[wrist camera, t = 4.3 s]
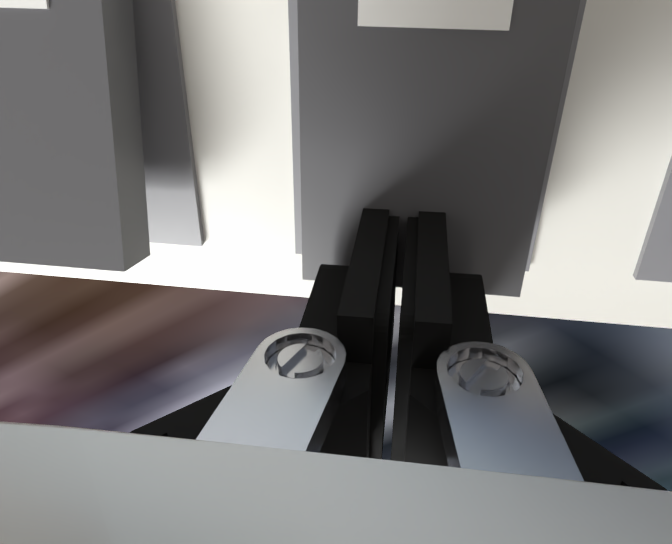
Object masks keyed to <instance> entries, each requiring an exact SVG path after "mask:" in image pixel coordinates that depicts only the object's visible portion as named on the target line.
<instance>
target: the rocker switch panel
mask: <svg viewBox="0 0 672 544" xmlns="http://www.w3.org/2000/svg"><path fill="white" fill-rule="evenodd" d="M133 14H134V28H135V42H136V56H137V71H138V85H139V99H140V114H141V128H142V142H143V157H144V171H145V185H146V200H147V214H148V228H149V243H150V256H148V257H147V258H145V259H144V260H142V261H141V262H139V263H138V264H136V265H134V266H133V267H131V268H130V269H128V270H127V271H125V272H120V271H108V270H96V269H84V268H72V267H60V266H48V265H36V264H24V263H12V262H0V271H3V272H15V273H27V274H38V275H50V276H62V277H74V278H85V279H97V280H109V281H120V282H132V283H144V284H156V285H167V286H179V287H191V288H203V289H214V290H226V291H238V292H249V293H261V294H273V295H285V296H296V297H308V298H309V297H310V294H311V291H312V288H313V285H314V282H315V280H303V278H302V224H301V171H300V118H299V64H298V11H297V0H133ZM485 296H486V303H487V309H488V313H496V314H507V315H519V316H531V317H543V318H554V319H566V320H578V321H589V322H601V323H613V324H625V325H636V326H648V327H660V328H672V0H580V5H579V10H578V15H577V20H576V25H575V30H574V35H573V40H572V44H571V49H570V54H569V59H568V64H567V69H566V74H565V79H564V84H563V88H562V93H561V98H560V103H559V108H558V113H557V118H556V123H555V128H554V132H553V137H552V142H551V147H550V152H549V157H548V162H547V167H546V172H545V176H544V181H543V186H542V191H541V196H540V201H539V206H538V211H537V216H536V220H535V225H534V230H533V235H532V240H531V245H530V250H529V255H528V260H527V265H526V269H525V274H524V279H523V284H522V289H521V294H520V297H511V296H498V295H486V294H485ZM401 300H402V288H401V287H396V292H395V305H401Z"/></svg>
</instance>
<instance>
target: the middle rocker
mask: <svg viewBox="0 0 672 544" xmlns="http://www.w3.org/2000/svg"><path fill="white" fill-rule="evenodd" d="M579 5H580V0H297V11H298V64H299V118H300V171H301V224H302V278H303V280H315V279H316V276H317V273H318V270H319V267H320V265H321V264H330V265H345V266H349V264H350V260H351V256H352V252H353V248H354V244H355V239H356V235H357V231H358V227H359V223H360V219H361V215H362V211H363V208H369V209H388V210H389V216H400V218H399V235H398V253H397V270H396V287H401V288H402V286H403V273H404V260H405V247H406V233H407V220H408V217H418V215H419V211H426V212H445V213H446V226H447V242H448V258H449V272H450V273H465V274H480V275H482V278H483V284H484V290H485V294H486V295H498V296H511V297H520V294H521V289H522V284H523V279H524V274H525V269H526V265H527V260H528V255H529V250H530V245H531V240H532V235H533V230H534V225H535V220H536V216H537V211H538V206H539V201H540V196H541V191H542V186H543V181H544V176H545V172H546V167H547V162H548V157H549V152H550V147H551V142H552V137H553V132H554V128H555V123H556V118H557V113H558V108H559V103H560V98H561V93H562V88H563V84H564V79H565V74H566V69H567V64H568V59H569V54H570V49H571V44H572V40H573V35H574V30H575V25H576V20H577V15H578V10H579Z"/></svg>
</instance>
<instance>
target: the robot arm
mask: <svg viewBox="0 0 672 544" xmlns="http://www.w3.org/2000/svg"><path fill="white" fill-rule="evenodd" d="M399 218H400V216H389V210H388V209H369V208H363V211H362V215H361V219H360V223H359V227H358V231H357V235H356V239H355V244H354V248H353V252H352V256H351V260H350V264H349V266H345V265H330V264H321V265H320V267H319V270H318V273H317V276H316V279H315V282H314V285H313V288H312V291H311V294H310V297H309V300H308V303H307V306H306V309H305V312H304V315H303V318H302V321H301V324H300V327H299V328H293V329H287V330H283V331H280V332H277V333H275V334H273V335H271V336H270V337H268V338H266V339H265V340H264V341H263V342H262V343H261V344H260V345H259V346H258V347H257V349H256V350H255V352H254V353H253V355H252V356H251V358H250V359H249V361H248V362H247V364H246V365H245V367H244V368H243V370H242V371H241V373H240V374H239V376H238V377H237V379H236V380H235V382H234V383H233V385H231V386H229V387H227V388H225V389H223V390H220V391H218V392H216V393H214V394H212V395H209V396H207V397H205V398H203V399H201V400H199V401H196V402H194V403H192V404H190V405H188V406H186V407H183V408H181V409H179V410H177V411H175V412H172V413H170V414H168V415H166V416H164V417H162V418H159V419H157V420H155V421H153V422H151V423H149V424H146V425H144V426H142V427H140V428H138V429H135V430H133V431H131V432H130V433H126V432H116V431H106V430H97V429H87V428H77V427H67V426H56V425H42V424H27V423H13V422H0V544H672V491H668V490H666V489H665V488H664V487H662V486H661V485H659V484H658V483H656V482H655V481H653V480H652V479H650V478H649V477H647V476H646V475H644V474H643V473H641V472H640V471H638V470H637V469H635V468H634V467H632V466H631V465H629V464H628V463H626V462H625V461H623V460H622V459H620V458H619V457H617V456H616V455H614V454H613V453H611V452H610V451H608V450H607V449H605V448H604V447H602V446H601V445H599V444H598V443H596V442H595V441H593V440H592V439H590V438H589V437H587V436H586V435H584V434H583V433H581V432H580V431H578V430H577V429H575V428H574V427H572V426H571V425H569V424H568V423H566V422H565V421H563V420H562V419H560V418H559V417H557V416H555V415H554V414H552V411H551V409H550V407H549V405H548V403H547V401H546V399H545V396H544V394H543V392H542V390H541V388H540V386H539V384H538V381H537V379H536V377H535V375H534V373H533V371H532V369H531V368H530V366H529V365H528V364H527V362H526V361H525V360H524V359H523V358H521V357H520V356H519V355H518V354H516V353H515V352H513V351H511V350H509V349H507V348H505V347H503V346H499V345H495V344H493V341H492V334H491V328H490V322H489V315H488V309H487V303H486V296H485V290H484V284H483V278H482V275H480V274H465V273H450V272H449V258H448V242H447V226H446V213H445V212H426V211H419V215H418V217H408V220H407V233H406V247H405V260H404V273H403V286H402V300H401V313H400V327H399V342H398V358H397V373H396V389H395V404H394V420H393V435H392V450H391V460H382V449H383V438H384V427H385V416H386V405H387V394H388V383H389V372H390V362H391V351H392V340H393V326H394V309H395V292H396V270H397V253H398V235H399Z"/></svg>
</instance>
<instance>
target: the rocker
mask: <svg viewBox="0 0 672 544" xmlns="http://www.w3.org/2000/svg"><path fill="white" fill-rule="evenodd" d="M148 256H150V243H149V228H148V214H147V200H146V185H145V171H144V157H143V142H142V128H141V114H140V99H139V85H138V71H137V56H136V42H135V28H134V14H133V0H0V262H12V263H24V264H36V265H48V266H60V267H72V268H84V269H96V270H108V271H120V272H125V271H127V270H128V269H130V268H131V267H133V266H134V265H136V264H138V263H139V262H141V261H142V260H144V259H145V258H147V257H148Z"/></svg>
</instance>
